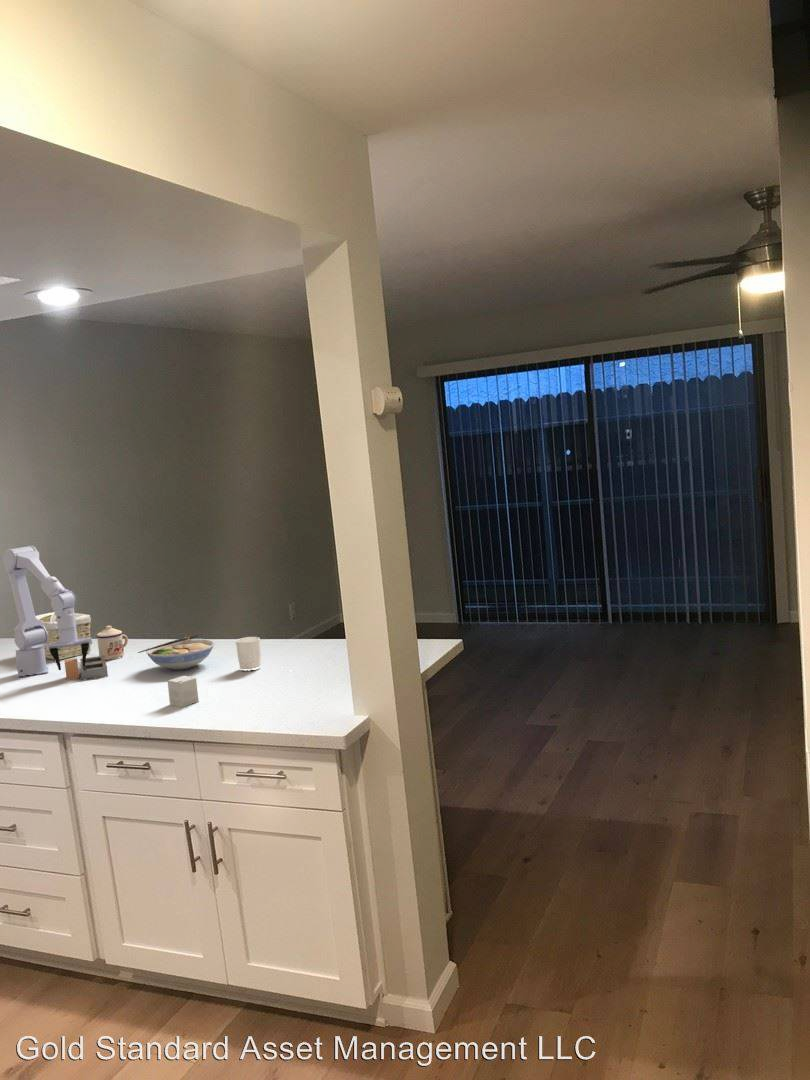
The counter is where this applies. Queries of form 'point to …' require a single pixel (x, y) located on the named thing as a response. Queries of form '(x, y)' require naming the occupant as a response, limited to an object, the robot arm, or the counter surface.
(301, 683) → the counter surface
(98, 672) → the grey slotted board
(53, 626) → the storage basket
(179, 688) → the skincare box
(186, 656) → the ramen bowl
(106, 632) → the teacup with lid
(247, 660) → the white cup
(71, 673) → the orange brown block
